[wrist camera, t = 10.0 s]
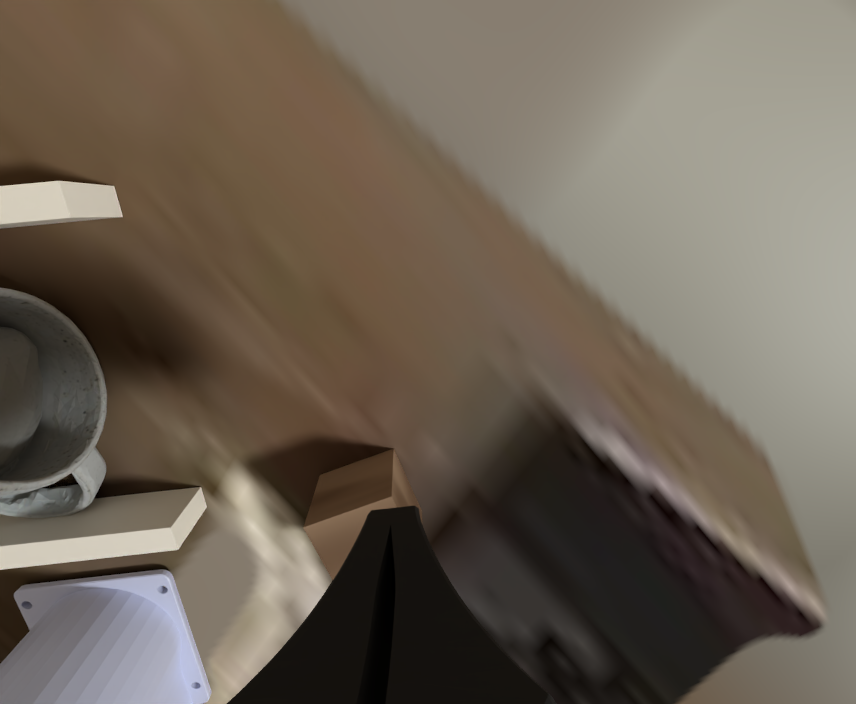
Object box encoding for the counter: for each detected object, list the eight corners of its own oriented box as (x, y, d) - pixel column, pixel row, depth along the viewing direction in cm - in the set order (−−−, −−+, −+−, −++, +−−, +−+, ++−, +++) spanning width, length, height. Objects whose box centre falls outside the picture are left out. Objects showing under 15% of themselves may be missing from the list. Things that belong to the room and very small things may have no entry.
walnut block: (421, 509, 23) (425, 567, 20) (351, 534, 24) (341, 596, 20) (393, 447, 22) (391, 496, 18) (320, 473, 22) (303, 527, 19)
